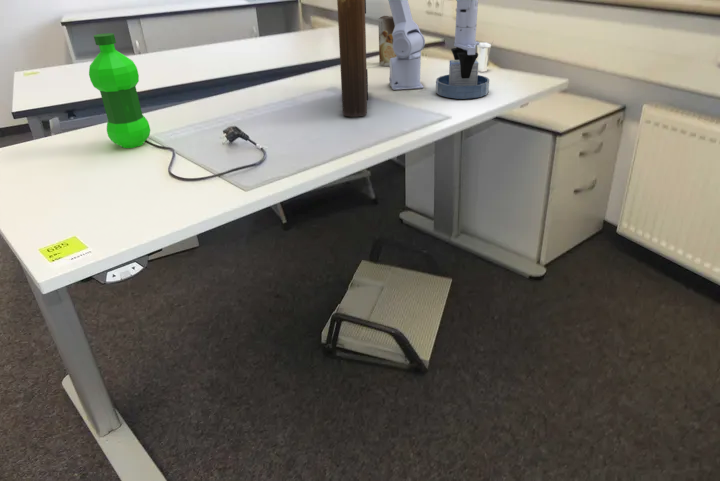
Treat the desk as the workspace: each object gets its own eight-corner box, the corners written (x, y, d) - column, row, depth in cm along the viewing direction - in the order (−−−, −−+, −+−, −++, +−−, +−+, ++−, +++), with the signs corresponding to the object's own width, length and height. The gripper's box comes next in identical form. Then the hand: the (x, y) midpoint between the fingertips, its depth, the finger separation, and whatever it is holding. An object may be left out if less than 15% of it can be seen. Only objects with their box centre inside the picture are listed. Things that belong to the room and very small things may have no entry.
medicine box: (475, 89, 160) (476, 58, 155) (476, 93, 156) (478, 62, 152) (448, 89, 160) (449, 59, 156) (449, 93, 157) (450, 63, 152)
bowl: (442, 101, 151) (443, 88, 149) (431, 87, 164) (431, 75, 162) (495, 98, 152) (496, 84, 150) (479, 84, 165) (480, 72, 163)
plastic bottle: (111, 155, 123) (78, 41, 111) (109, 141, 132) (79, 33, 119) (156, 147, 127) (129, 35, 114) (152, 134, 135) (127, 29, 122)
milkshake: (491, 72, 178) (494, 40, 173) (475, 72, 179) (477, 40, 174) (491, 69, 182) (494, 38, 177) (475, 69, 183) (477, 38, 178)
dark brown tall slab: (344, 94, 161) (339, -16, 146) (368, 93, 161) (365, -17, 146) (341, 118, 141) (334, -7, 126) (368, 117, 141) (365, -8, 126)
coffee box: (408, 63, 195) (408, 15, 186) (402, 67, 189) (403, 18, 181) (384, 62, 198) (384, 15, 190) (378, 65, 193) (377, 17, 184)
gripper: (488, 29, 143) (483, 81, 150) (472, 21, 155) (469, 69, 162) (462, 30, 143) (459, 82, 149) (448, 22, 155) (446, 70, 162)
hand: (463, 75), depth 156 cm, fingers closed on medicine box, 5 cm apart
